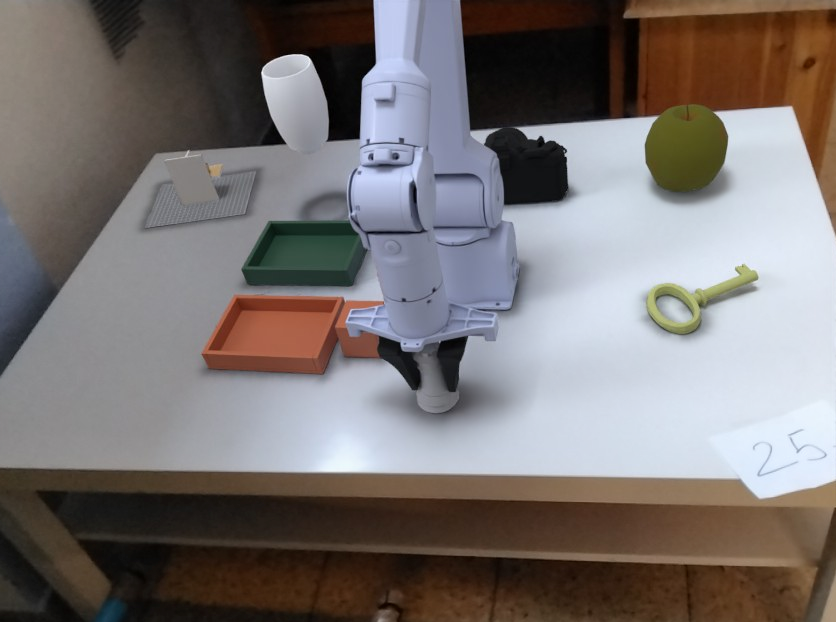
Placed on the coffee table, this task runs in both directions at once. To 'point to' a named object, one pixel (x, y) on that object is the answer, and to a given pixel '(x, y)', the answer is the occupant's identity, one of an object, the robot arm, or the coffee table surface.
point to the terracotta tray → (275, 334)
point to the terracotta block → (366, 341)
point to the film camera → (529, 167)
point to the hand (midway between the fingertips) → (435, 384)
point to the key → (695, 299)
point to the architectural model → (199, 193)
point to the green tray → (305, 254)
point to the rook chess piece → (433, 382)
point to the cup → (296, 102)
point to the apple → (686, 148)
